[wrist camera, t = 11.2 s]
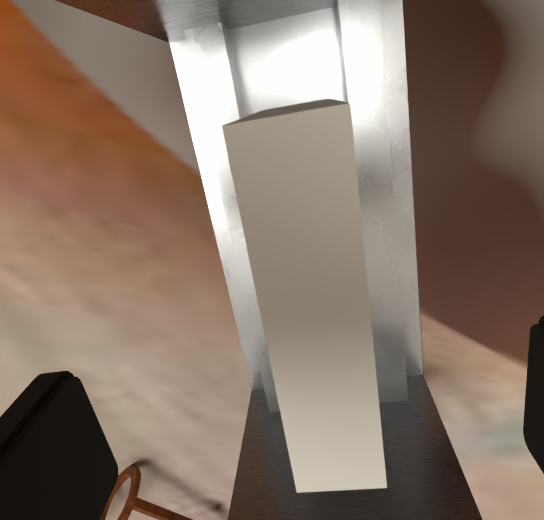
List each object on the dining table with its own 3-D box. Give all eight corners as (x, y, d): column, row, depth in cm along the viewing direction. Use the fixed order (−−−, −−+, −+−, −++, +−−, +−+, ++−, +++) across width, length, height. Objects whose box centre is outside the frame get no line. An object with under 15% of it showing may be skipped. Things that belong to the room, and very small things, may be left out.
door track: (167, 8, 19) (-38, -117, 8) (394, -44, 17) (551, -290, 6) (258, 398, 26) (222, 619, 15) (419, 384, 25) (509, 615, 14)
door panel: (263, 109, 19) (221, 125, 10) (328, 98, 19) (350, 102, 9) (301, 333, 23) (296, 492, 14) (354, 328, 23) (387, 488, 14)
